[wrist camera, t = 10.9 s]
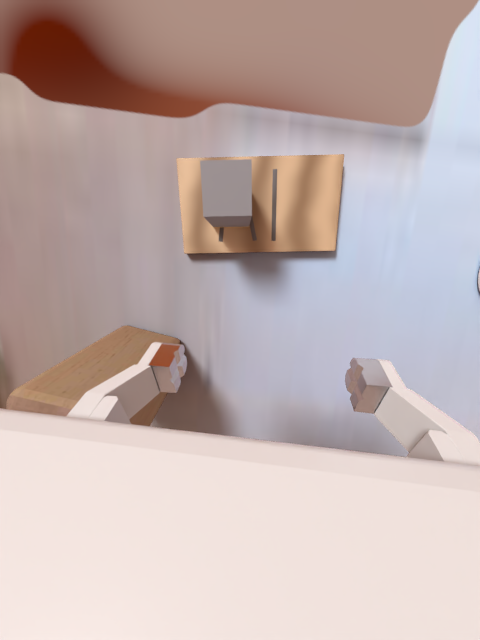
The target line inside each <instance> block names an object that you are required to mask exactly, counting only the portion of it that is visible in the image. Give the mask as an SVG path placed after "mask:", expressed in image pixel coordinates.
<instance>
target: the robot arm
mask: <svg viewBox="0 0 480 640" xmlns="http://www.w3.org/2000/svg"><path fill="white" fill-rule="evenodd" d="M478 286H479V291H480V270H479V275H478ZM184 352H185V348H184V345H181V344H172V343H160V342H153V343H152V344H151V345H150V347H149V348H148V350H147V351H146V353H145V354H144V355H143V357H142V358H141V360H140V361H139V363H138V364H137V365H135V364H134V365H133V366H131V367H129V368H127V369H126V370H124V371H122V372H120V373H119V374H117V375H115V376H113V377H112V378H110V379H108V380H106V381H105V382H103V383H101V384H99V385H98V386H96V387H94V388H93V389H91V390H89V391H87V392H86V393H85V394H84V395H83V396H82V398H81V399H80V400H79V401H78V403H77V404H76V405H75V406H74V407H73V409H72V410H71V411H70V412H69V413H68V415H67V416H59V415H51V414H42V413H34V412H25V411H17V410H9V409H1V408H0V640H480V442H479V440H478V439H477V438H476V436H475V435H474V434H473V433H472V432H470V431H469V430H468V429H466V428H465V427H463V426H462V425H461V424H459V423H458V422H456V421H455V420H453V419H452V418H451V417H449V416H448V415H446V414H445V413H444V412H442V411H441V410H439V409H438V408H437V407H435V406H434V405H432V404H431V403H430V402H428V401H427V400H425V399H424V398H422V397H421V396H420V395H418V394H417V393H415V392H414V391H413V390H411V389H407V388H406V386H405V385H404V383H403V381H402V380H401V378H400V376H399V375H398V373H397V371H396V370H395V368H394V366H393V365H392V363H391V362H390V361H389V360H380V359H364V358H353V359H352V360H351V362H350V366H351V368H350V369H349V370H347V372H346V375H345V383H346V388H347V390H348V391H349V392H350V393H351V394H352V395H351V397H350V400H351V403H352V406H353V409H354V411H357V412H365V413H373V414H374V415H375V416H376V417H377V418H378V419H379V421H380V422H381V423H382V424H383V425H384V426H385V427H386V428H387V429H388V430H389V431H390V432H391V434H392V435H393V436H394V437H395V438H396V439H397V440H398V441H399V442H400V443H401V444H402V445H403V446H404V448H405V449H406V450H407V451H408V452H409V454H408V455H407V456H406V457H401V456H393V455H384V454H376V453H368V452H359V451H351V450H343V449H334V448H326V447H317V446H309V445H301V444H292V443H284V442H275V441H267V440H259V439H250V438H242V437H234V436H225V435H217V434H209V433H200V432H192V431H184V430H175V429H167V428H159V427H150V426H142V425H134V424H131V422H130V420H129V419H130V418H131V417H133V416H134V415H135V414H136V413H137V412H138V411H139V410H141V409H142V408H143V407H144V406H145V405H146V404H148V403H149V402H150V401H151V400H152V399H153V398H154V397H156V396H157V395H158V394H159V393H160V392H169V393H177V391H178V388H179V386H180V384H181V379H180V378H181V377H182V376H184V374H185V372H186V368H187V358H186V356H185V355H184Z"/></svg>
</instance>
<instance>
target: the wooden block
mask: <svg viewBox="0 0 480 640" xmlns="http://www.w3.org/2000/svg"><path fill="white" fill-rule="evenodd" d="M153 342H160V343H172V344H180V340H179V339H177V338H174V337H170V336H166V335H162V334H159V333H155V332H151V331H147V330H143V329H139V328H135V327H131V326H122V327H121V328H119V329H117V330H115V331H114V332H112V333H110V334H109V335H107V336H105V337H103V338H102V339H100V340H98V341H97V342H95V343H93V344H92V345H90V346H88V347H86V348H85V349H83V350H81V351H80V352H78V353H76V354H74V355H73V356H71V357H69V358H68V359H66V360H64V361H63V362H61V363H59V364H57V365H56V366H54V367H52V368H51V369H49V370H47V371H45V372H44V373H42V374H40V375H39V376H37V377H35V378H34V379H32V380H30V381H28V382H27V383H25V384H23V385H22V386H20V387H18V388H16V389H15V390H14V391H13V392H12V393H11V394H10V396H9V398H8V400H7V409H9V410H17V411H25V412H34V413H42V414H51V415H59V416H67V415H68V413H69V412H70V411H71V410H72V409H73V407H74V406H75V405H76V404H77V403H78V401H79V400H80V399H81V398H82V396H83V395H84V394H85V393H86V392H87V391H89V390H91V389H93V388H94V387H96V386H98V385H99V384H101V383H103V382H105V381H106V380H108V379H110V378H112V377H113V376H115V375H117V374H119V373H120V372H122V371H124V370H126V369H127V368H129V367H131V366H133V365H134V364H135V365H137V364H138V363H139V361H140V360H141V358H142V357H143V355H144V354H145V353H146V351H147V350H148V348H149V347H150V345H151V344H152V343H153ZM167 393H168V392H160V393H159V394H158V395H157V396H156V397H154V398H153V399H152V400H151V401H150V402H149V403H148V404H146V405H145V406H144V407H143V408H142V409H141V410H139V411H138V412H137V413H136V414H135V415H134V416H133V417H131V418H130V419H129V420H130V422H131V424H134V425H142V426H150V424H151V423H152V421H153V419H154V417H155V415H156V413H157V412H158V410H159V408H160V406H161V404H162V402H163V400H164V399H165V397H166V395H167Z"/></svg>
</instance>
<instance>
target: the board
mask: <svg viewBox="0 0 480 640" xmlns="http://www.w3.org/2000/svg"><path fill="white" fill-rule="evenodd" d="M244 159H252V217H251V221H250V225H249V227H220V228H214V227H213V226H212V225H211V224H210V223H209V222H208V221H207V220H206V219H205V218H204V217H203V202H202V185H201V168H200V161H204V160H244ZM343 162H344V154H341V155H300V156H258V157H217V158H177V170H178V182H179V194H180V206H181V218H182V230H183V242H184V253H185V254H191V253H242V252H293V251H335V247H336V236H337V226H338V215H339V204H340V194H341V183H342V172H343Z"/></svg>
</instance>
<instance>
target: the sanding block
mask: <svg viewBox="0 0 480 640" xmlns="http://www.w3.org/2000/svg"><path fill="white" fill-rule="evenodd" d="M200 168H201V185H202V202H203V217H204V218H205V219H206V220H207V221H208V222H209V223H210V224H211V225H212V226H213V227H214V228H220V227H249V225H250V221H251V217H252V159H244V160H204V161H200Z"/></svg>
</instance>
